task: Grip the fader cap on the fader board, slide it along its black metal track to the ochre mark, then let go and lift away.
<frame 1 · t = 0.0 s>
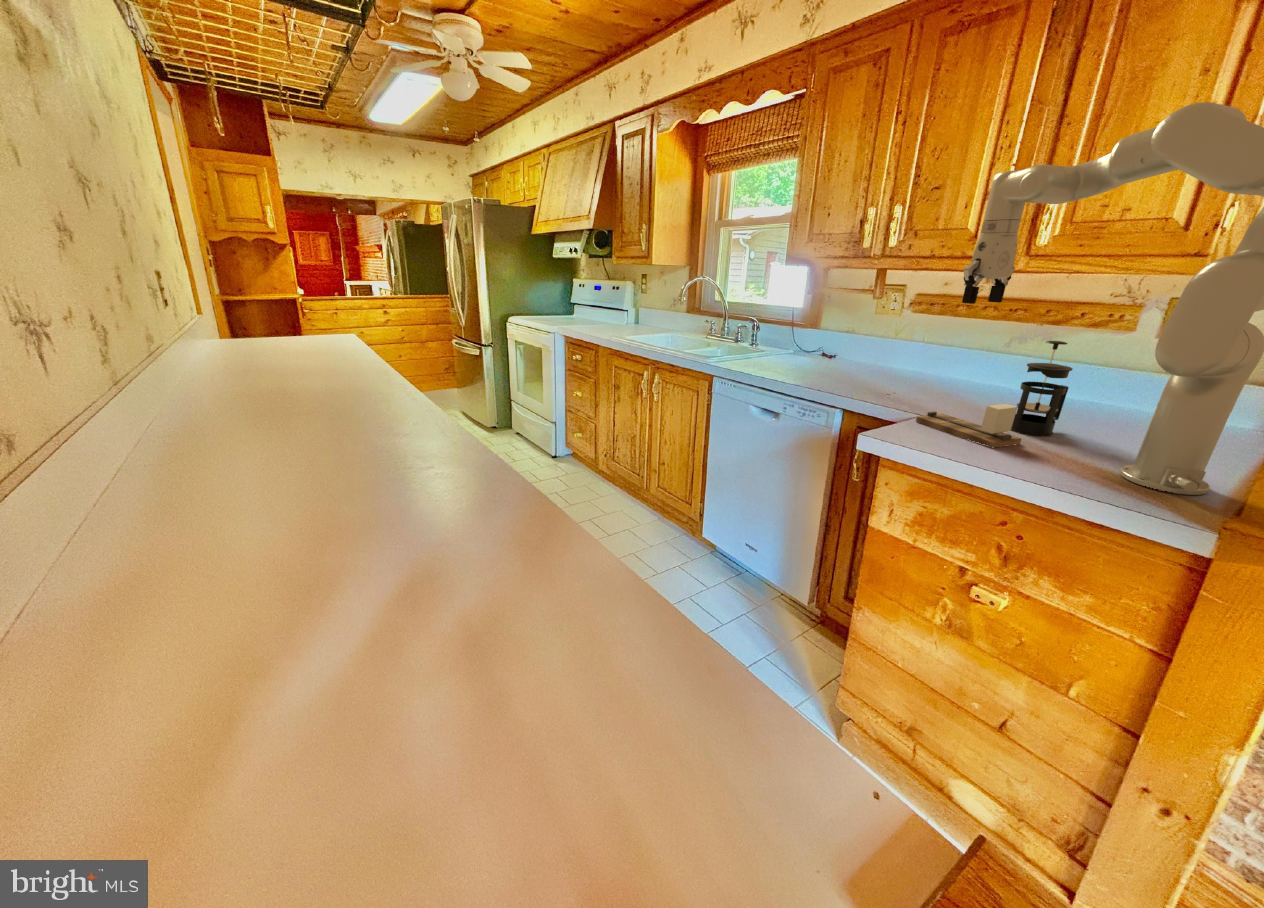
hand: (981, 302, 128), 31 cm above the counter, tool pointing down, fingers open, 9 cm apart
fader board: (964, 432, 129), on the counter
fader cap: (998, 420, 121), point 5 cm above the counter, slide at 0.0 cm
french press: (1031, 431, 131), on the counter
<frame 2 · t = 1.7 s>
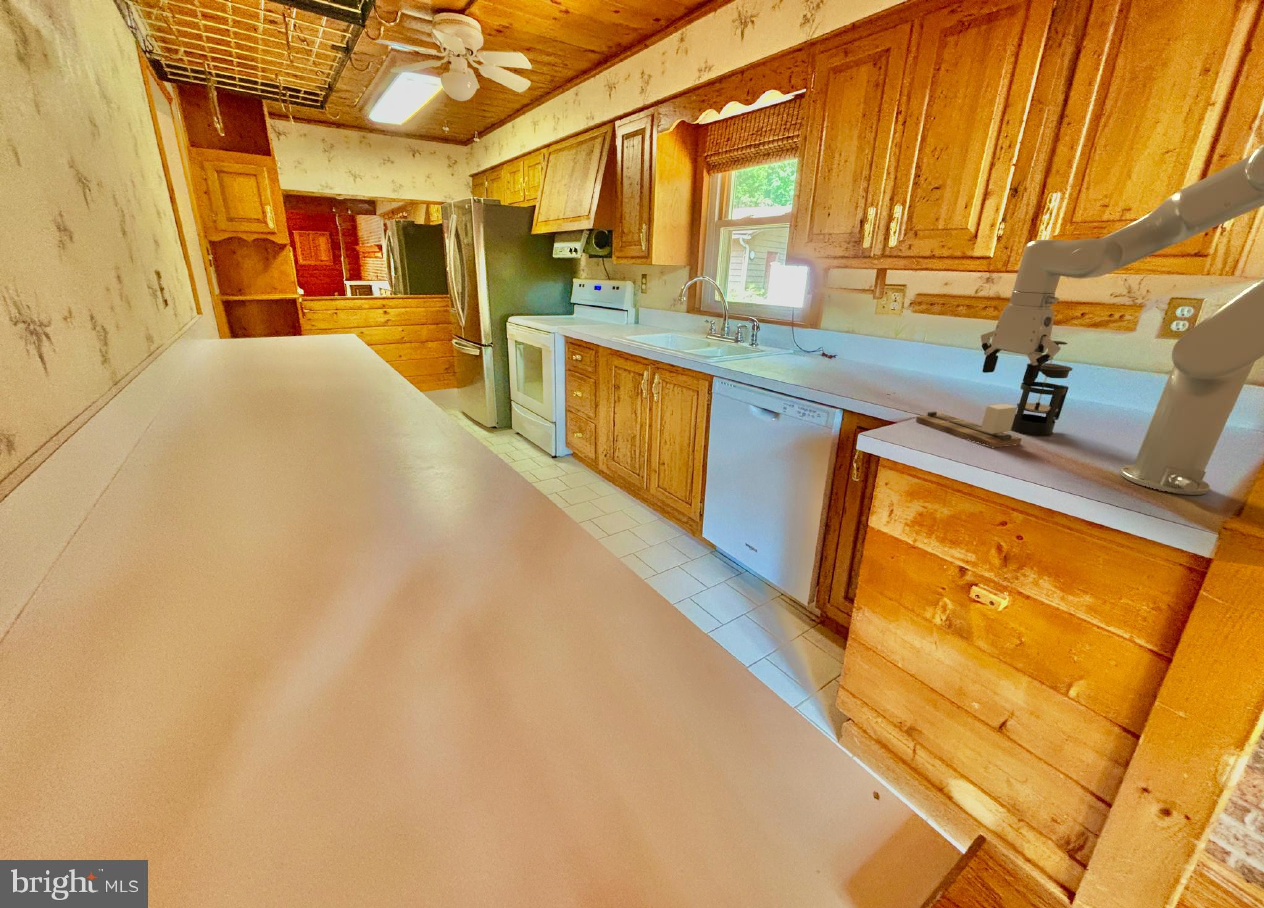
hand: (1007, 376, 117), 16 cm above the counter, tool pointing down, fingers open, 9 cm apart
nothing on the counter moved.
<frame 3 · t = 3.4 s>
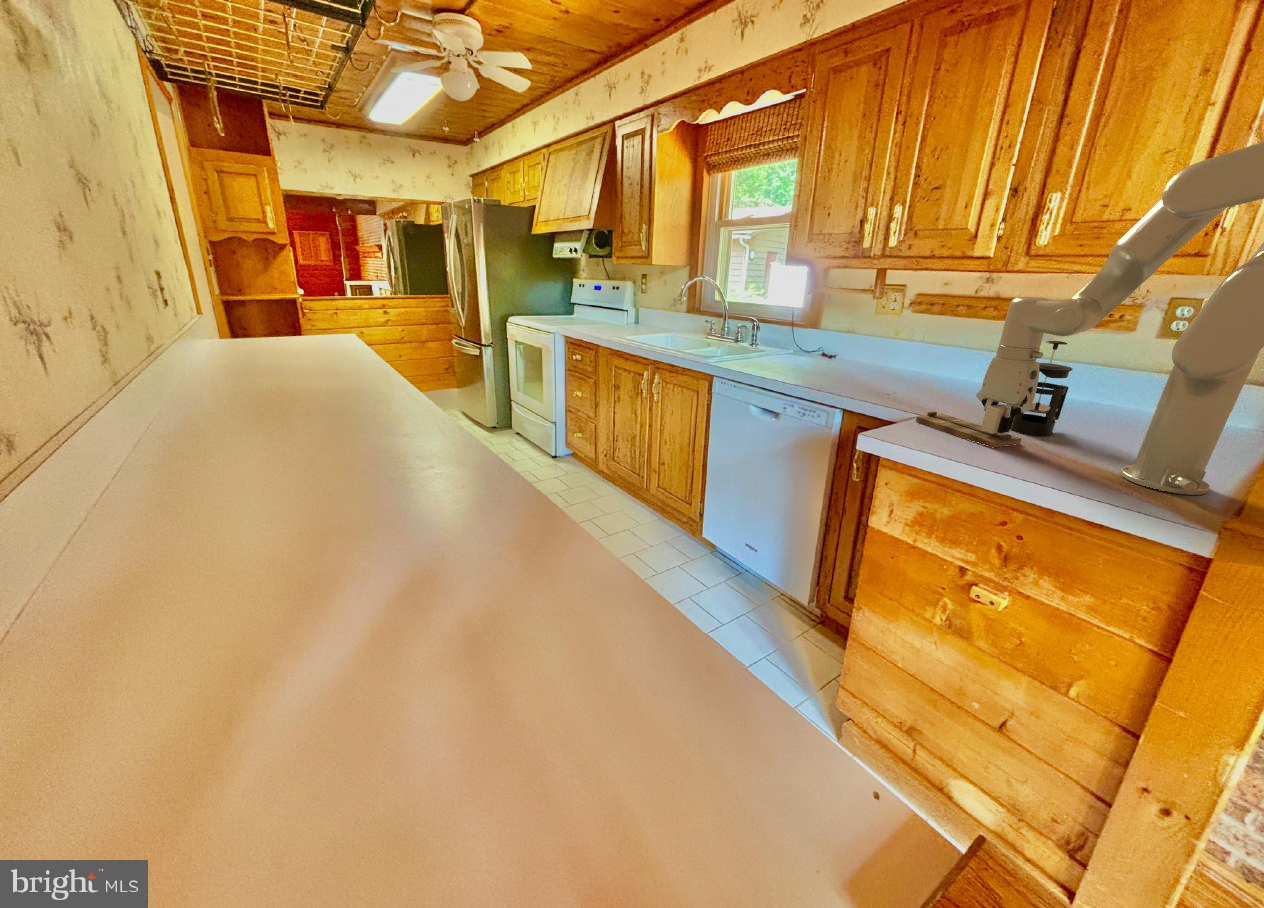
hand: (995, 429, 122), 3 cm above the counter, tool pointing down, fingers closed on fader cap, 3 cm apart
fader cap: (998, 420, 121), point 5 cm above the counter, slide at 0.0 cm, touching gripper
everything else where it was.
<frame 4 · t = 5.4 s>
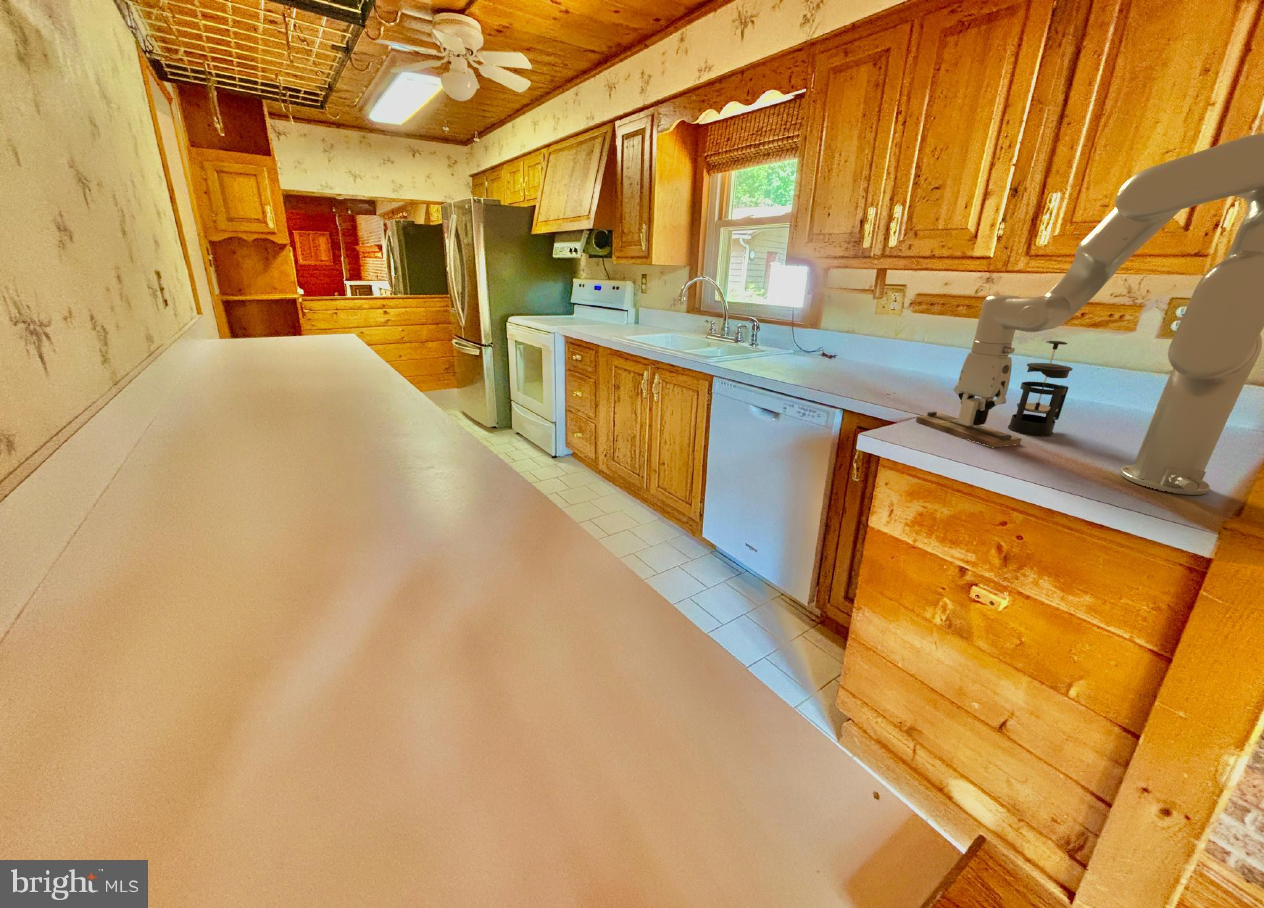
hand: (971, 421, 127), 3 cm above the counter, tool pointing down, fingers closed on fader cap, 3 cm apart
fader cap: (974, 413, 126), point 5 cm above the counter, slide at 6.3 cm, touching gripper
everything else where it was.
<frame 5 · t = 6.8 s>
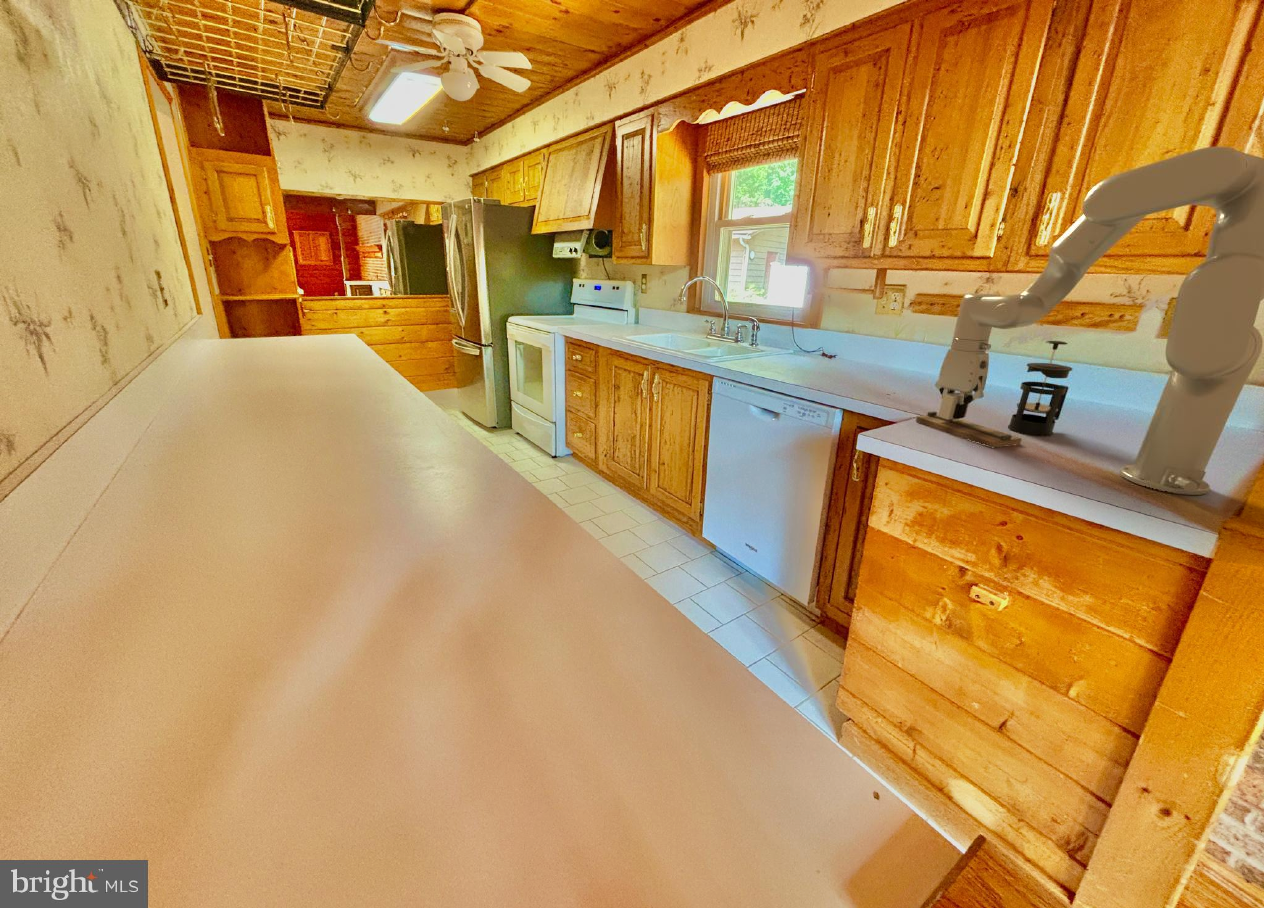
hand: (952, 415, 132), 3 cm above the counter, tool pointing down, fingers closed on fader cap, 3 cm apart
fader cap: (954, 407, 131), point 5 cm above the counter, slide at 11.9 cm, touching gripper
everything else where it was.
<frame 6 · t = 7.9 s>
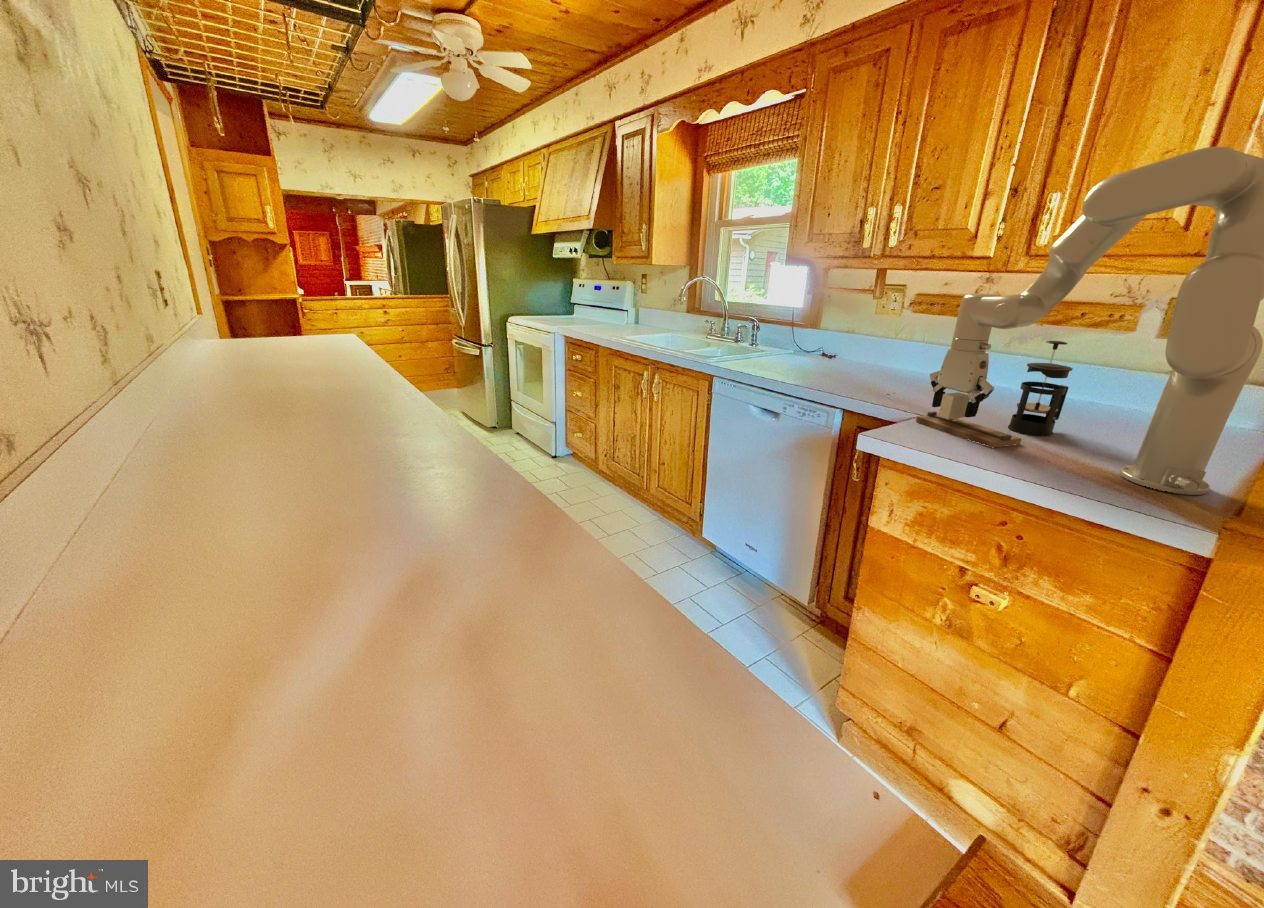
hand: (952, 411, 132), 4 cm above the counter, tool pointing down, fingers open, 9 cm apart
fader cap: (954, 407, 131), point 5 cm above the counter, slide at 12.0 cm
everything else where it was.
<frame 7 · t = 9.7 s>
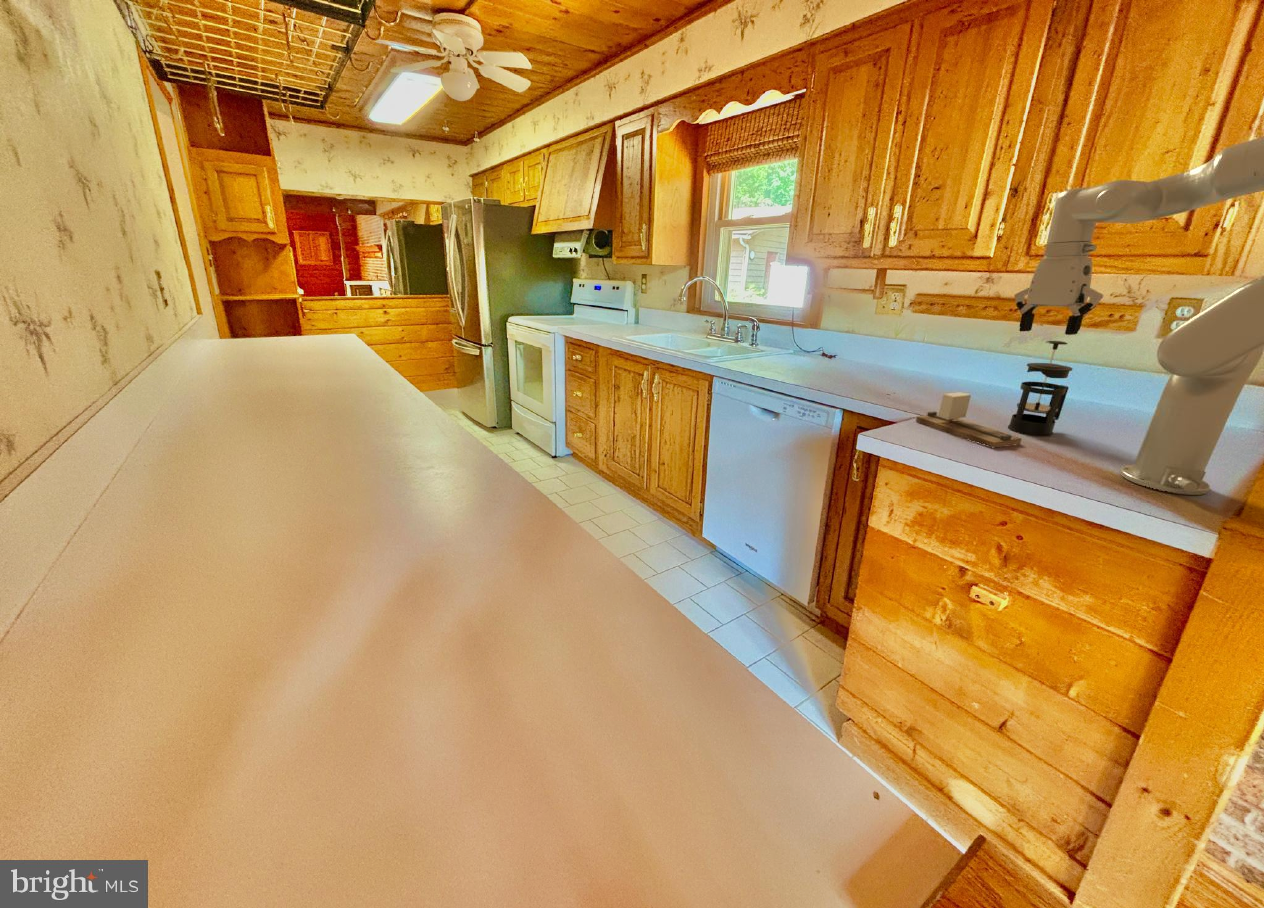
hand: (1047, 332, 115), 26 cm above the counter, tool pointing down, fingers open, 9 cm apart
nothing on the counter moved.
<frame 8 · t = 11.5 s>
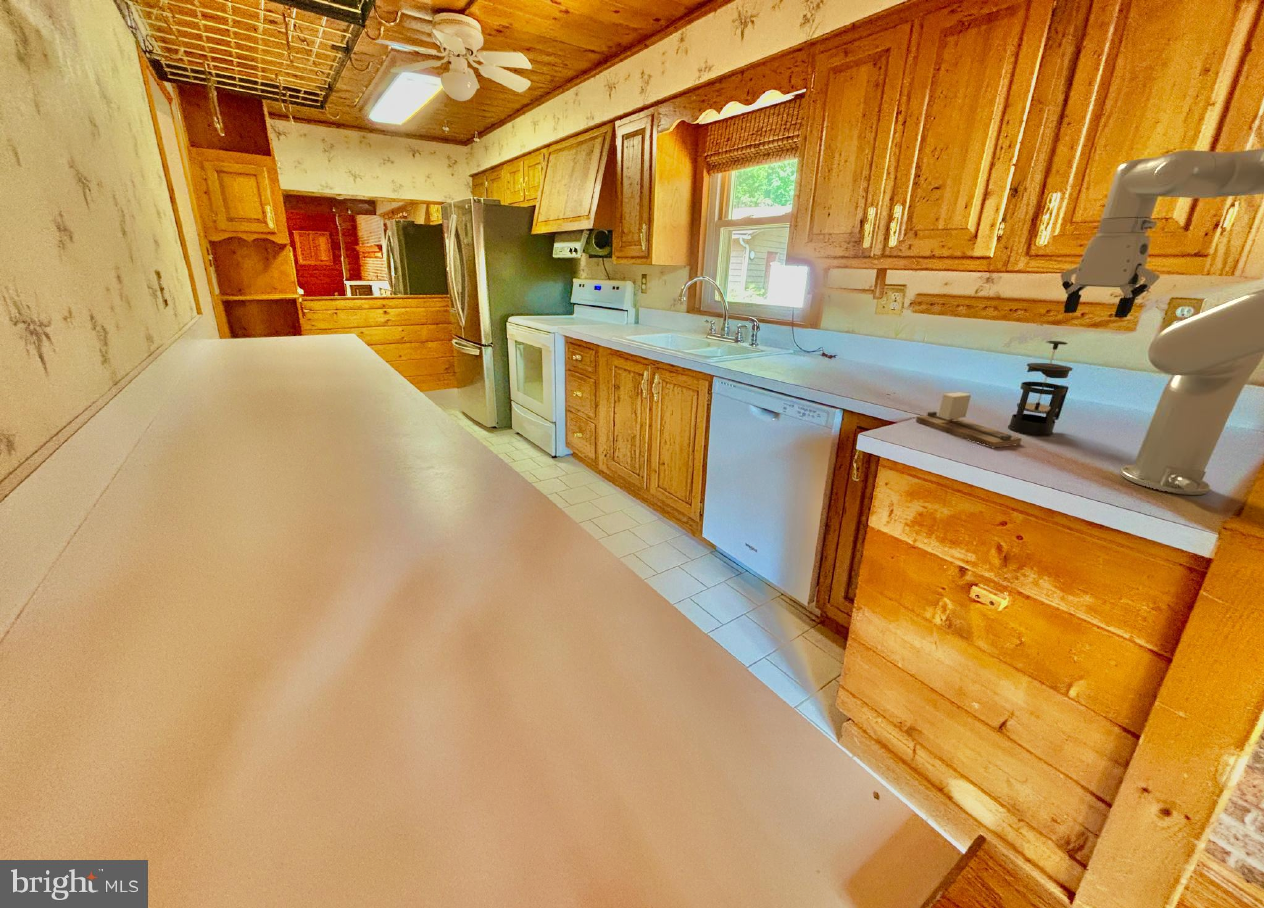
hand: (1094, 315, 109), 30 cm above the counter, tool pointing down, fingers open, 9 cm apart
nothing on the counter moved.
at the end: fader cap slide at 12.0 cm; the gripper is holding nothing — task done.
